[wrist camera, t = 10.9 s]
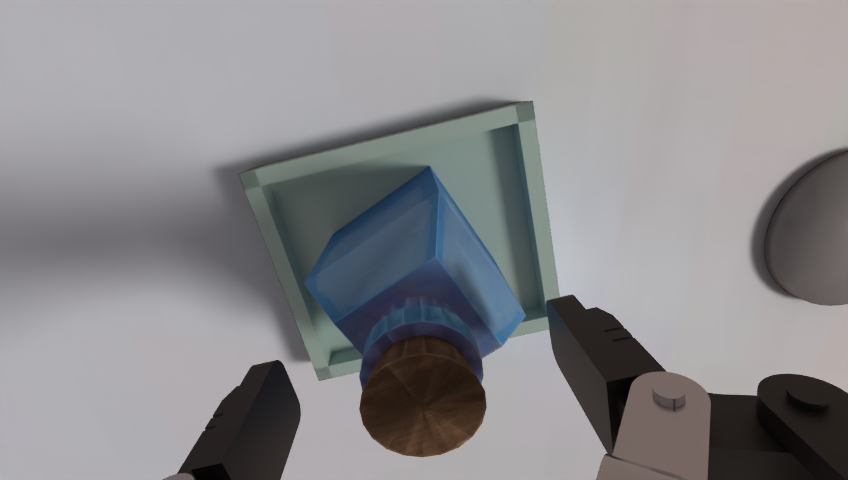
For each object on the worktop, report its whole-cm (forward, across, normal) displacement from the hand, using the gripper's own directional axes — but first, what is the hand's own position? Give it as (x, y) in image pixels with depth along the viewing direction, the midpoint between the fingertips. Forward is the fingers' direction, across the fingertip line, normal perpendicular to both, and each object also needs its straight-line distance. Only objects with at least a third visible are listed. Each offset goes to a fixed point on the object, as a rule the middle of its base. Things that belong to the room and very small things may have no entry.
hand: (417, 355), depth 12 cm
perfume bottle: (+10, 0, 0) cm, 10 cm away
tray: (+11, 0, 0) cm, 11 cm away
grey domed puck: (+11, -24, +5) cm, 27 cm away
